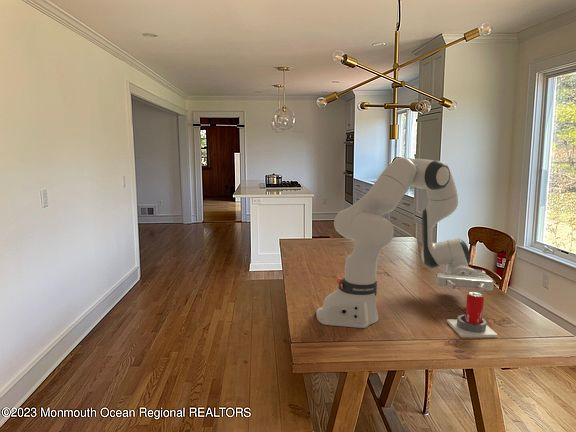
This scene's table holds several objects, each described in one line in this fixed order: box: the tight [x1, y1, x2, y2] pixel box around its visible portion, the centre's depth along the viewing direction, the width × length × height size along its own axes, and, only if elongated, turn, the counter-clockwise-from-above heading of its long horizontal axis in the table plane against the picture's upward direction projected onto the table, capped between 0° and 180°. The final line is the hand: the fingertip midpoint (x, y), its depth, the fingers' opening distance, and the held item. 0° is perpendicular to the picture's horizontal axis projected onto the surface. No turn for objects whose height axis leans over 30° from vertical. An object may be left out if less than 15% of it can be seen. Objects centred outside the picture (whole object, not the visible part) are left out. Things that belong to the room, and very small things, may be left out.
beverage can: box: [464, 291, 485, 324], centre depth 143 cm, size 5×5×12 cm
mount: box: [446, 314, 498, 338], centre depth 144 cm, size 12×12×4 cm
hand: (467, 287), depth 154 cm, fingers open, 8 cm apart
